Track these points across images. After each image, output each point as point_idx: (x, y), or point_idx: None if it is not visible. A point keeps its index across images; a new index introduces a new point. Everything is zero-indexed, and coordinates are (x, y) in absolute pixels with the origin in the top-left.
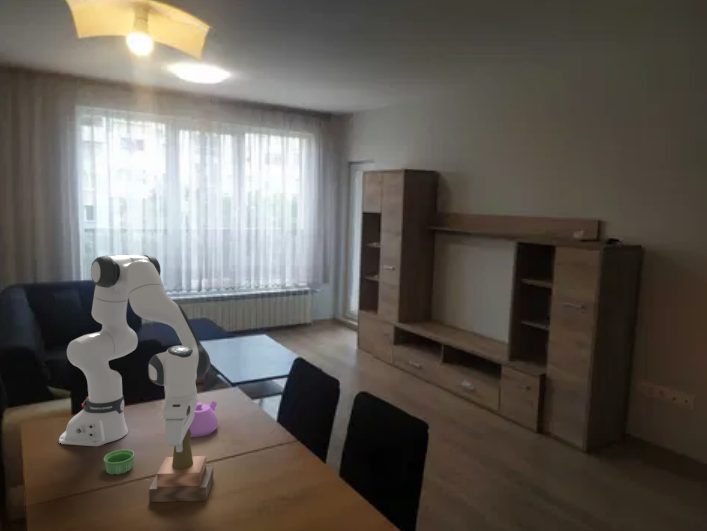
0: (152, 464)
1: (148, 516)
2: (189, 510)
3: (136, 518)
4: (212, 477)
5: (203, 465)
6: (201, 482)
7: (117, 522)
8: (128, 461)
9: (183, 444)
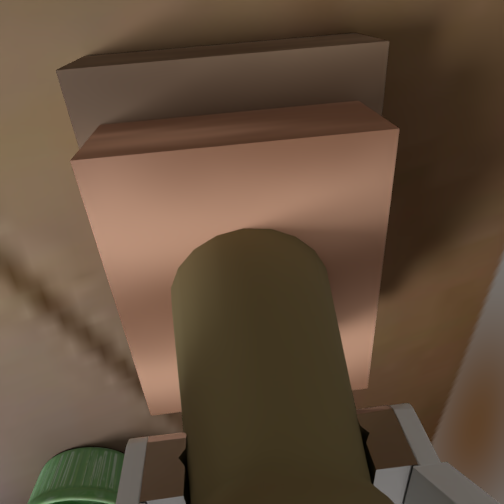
0: (26, 401)
1: (444, 274)
2: (441, 108)
3: (447, 308)
4: (116, 56)
5: (211, 138)
6: (316, 100)
7: (455, 352)
8: (102, 490)
9: (363, 460)
